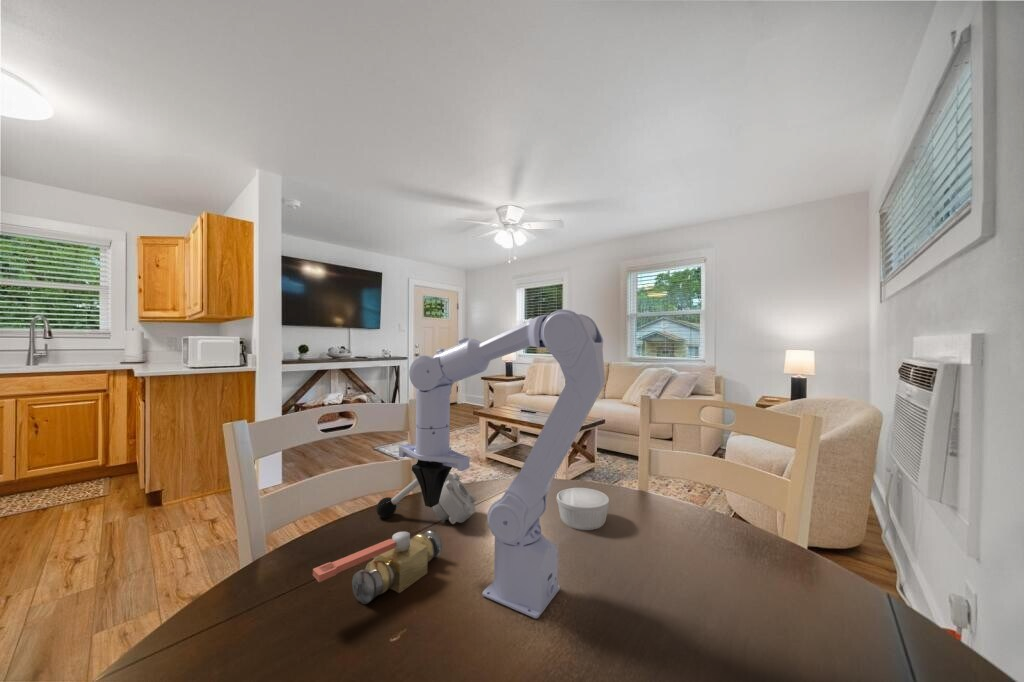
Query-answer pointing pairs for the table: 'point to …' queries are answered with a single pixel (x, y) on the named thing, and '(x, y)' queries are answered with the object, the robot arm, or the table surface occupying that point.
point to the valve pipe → (396, 568)
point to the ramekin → (583, 508)
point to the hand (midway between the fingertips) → (431, 504)
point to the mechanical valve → (451, 502)
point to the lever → (362, 556)
